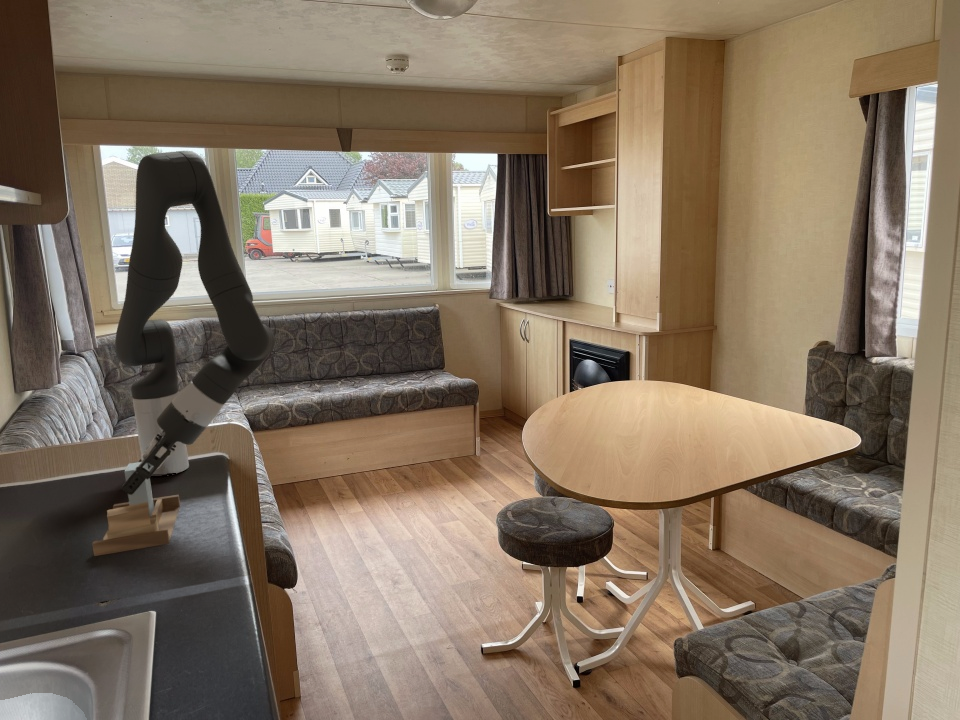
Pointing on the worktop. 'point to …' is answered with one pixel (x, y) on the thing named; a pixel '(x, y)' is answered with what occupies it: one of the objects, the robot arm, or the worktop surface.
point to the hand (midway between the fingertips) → (130, 483)
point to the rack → (166, 519)
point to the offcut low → (135, 530)
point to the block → (140, 489)
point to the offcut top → (128, 517)
